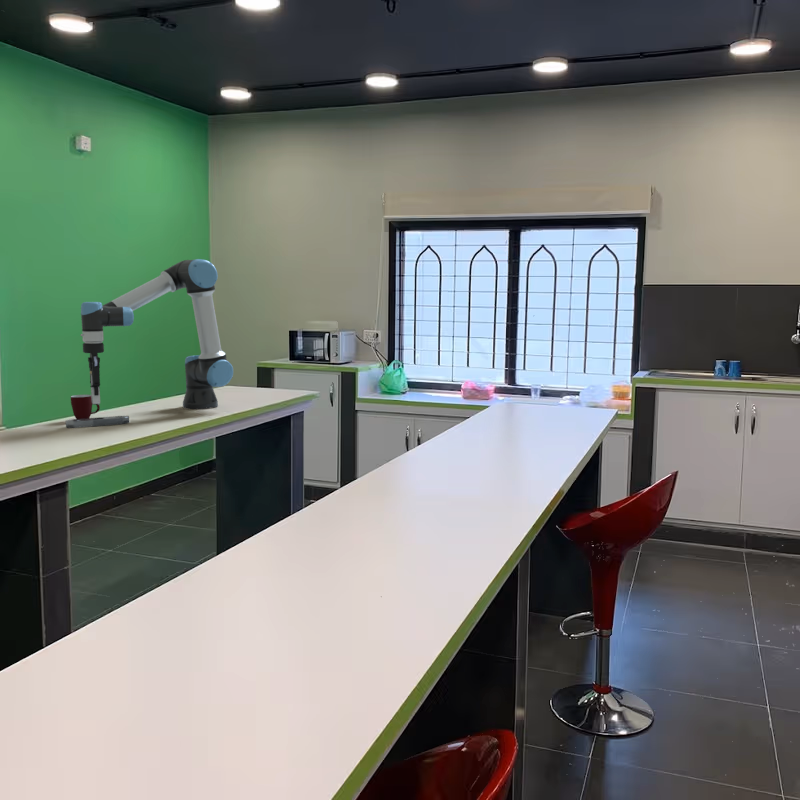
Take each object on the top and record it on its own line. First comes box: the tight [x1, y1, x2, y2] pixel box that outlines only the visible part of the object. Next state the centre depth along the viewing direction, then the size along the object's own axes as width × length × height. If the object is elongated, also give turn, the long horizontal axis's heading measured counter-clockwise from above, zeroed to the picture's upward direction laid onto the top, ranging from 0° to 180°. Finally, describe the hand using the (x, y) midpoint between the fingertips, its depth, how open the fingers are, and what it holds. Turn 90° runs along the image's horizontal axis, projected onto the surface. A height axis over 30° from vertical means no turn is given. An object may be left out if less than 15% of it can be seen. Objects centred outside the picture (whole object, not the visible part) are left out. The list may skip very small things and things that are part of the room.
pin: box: [89, 370, 97, 406], centre depth 305 cm, size 3×3×13 cm
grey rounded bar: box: [65, 415, 130, 429], centre depth 307 cm, size 23×5×2 cm, turn 117°
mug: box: [70, 394, 100, 419], centre depth 317 cm, size 11×8×10 cm
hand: (96, 402), depth 305 cm, fingers closed on pin, 2 cm apart
